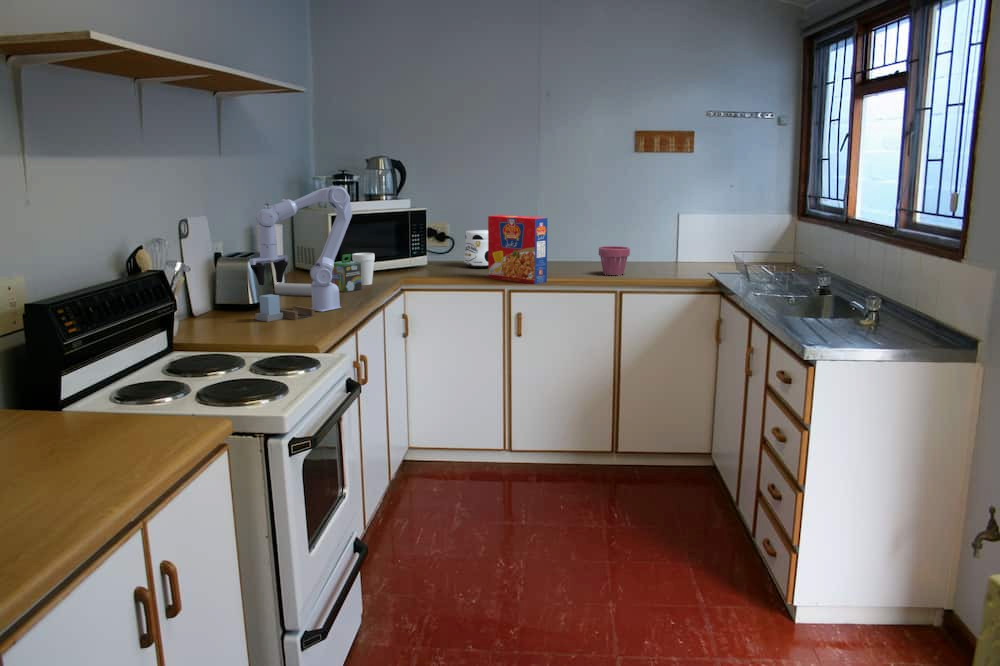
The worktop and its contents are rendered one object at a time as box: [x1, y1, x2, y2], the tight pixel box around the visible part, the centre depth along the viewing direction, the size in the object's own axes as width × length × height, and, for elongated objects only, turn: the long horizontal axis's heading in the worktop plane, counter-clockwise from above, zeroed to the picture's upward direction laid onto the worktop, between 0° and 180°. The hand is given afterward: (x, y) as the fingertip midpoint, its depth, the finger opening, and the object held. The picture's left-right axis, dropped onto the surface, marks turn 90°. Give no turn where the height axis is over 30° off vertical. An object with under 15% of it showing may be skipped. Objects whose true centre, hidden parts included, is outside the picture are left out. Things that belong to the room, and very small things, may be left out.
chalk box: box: [331, 253, 363, 293], centre depth 325 cm, size 9×9×15 cm
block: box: [258, 293, 281, 315], centre depth 265 cm, size 4×4×6 cm
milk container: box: [463, 229, 488, 269], centre depth 395 cm, size 17×17×18 cm
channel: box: [280, 305, 316, 320], centre depth 271 cm, size 8×10×2 cm
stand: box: [254, 312, 284, 323], centre depth 266 cm, size 6×6×2 cm
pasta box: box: [487, 214, 548, 285], centre depth 351 cm, size 28×8×28 cm, turn 46°
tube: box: [274, 282, 312, 297], centre depth 313 cm, size 5×5×25 cm
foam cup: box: [351, 252, 376, 286], centre depth 342 cm, size 10×9×13 cm
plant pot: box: [598, 245, 631, 276], centre depth 368 cm, size 14×14×13 cm
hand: (270, 283), depth 275 cm, fingers open, 7 cm apart
